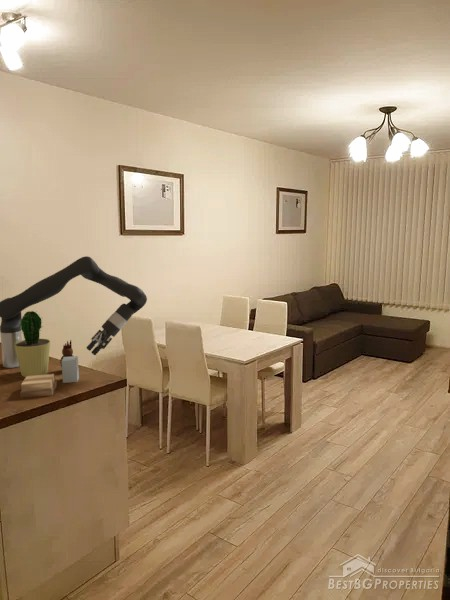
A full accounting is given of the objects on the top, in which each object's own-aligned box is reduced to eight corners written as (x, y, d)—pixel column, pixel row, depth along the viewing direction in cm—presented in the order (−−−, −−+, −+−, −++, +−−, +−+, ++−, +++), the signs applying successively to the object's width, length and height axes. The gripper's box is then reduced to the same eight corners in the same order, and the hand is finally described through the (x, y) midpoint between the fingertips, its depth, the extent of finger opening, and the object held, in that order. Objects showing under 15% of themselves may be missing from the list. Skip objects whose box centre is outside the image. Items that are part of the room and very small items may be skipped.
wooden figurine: (78, 369, 216) (76, 339, 214) (70, 373, 211) (68, 342, 209) (66, 368, 219) (64, 338, 216) (58, 371, 213) (56, 340, 211)
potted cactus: (22, 381, 200) (17, 314, 195) (12, 372, 212) (7, 309, 207) (57, 374, 210) (53, 310, 205) (46, 366, 222) (42, 305, 217)
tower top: (27, 382, 192) (26, 375, 191) (54, 380, 194) (54, 373, 194) (21, 391, 181) (21, 384, 181) (50, 389, 184) (50, 382, 183)
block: (65, 378, 204) (63, 356, 203) (78, 377, 205) (77, 356, 204) (62, 382, 198) (61, 360, 197) (77, 382, 199) (75, 360, 198)
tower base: (27, 388, 193) (27, 381, 193) (57, 386, 195) (56, 380, 195) (20, 399, 181) (20, 391, 181) (52, 396, 184) (51, 389, 183)
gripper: (125, 332, 204) (100, 360, 200) (115, 326, 216) (92, 352, 212) (113, 322, 200) (88, 350, 196) (103, 316, 212) (80, 343, 208)
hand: (90, 351), depth 204 cm, fingers open, 8 cm apart
